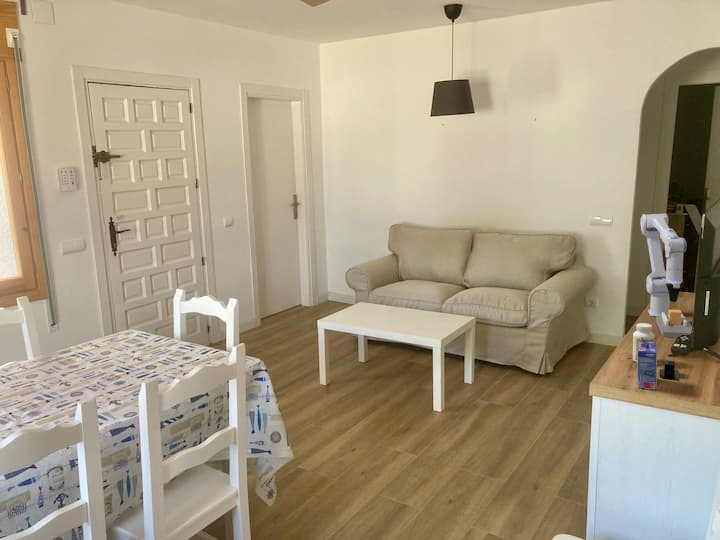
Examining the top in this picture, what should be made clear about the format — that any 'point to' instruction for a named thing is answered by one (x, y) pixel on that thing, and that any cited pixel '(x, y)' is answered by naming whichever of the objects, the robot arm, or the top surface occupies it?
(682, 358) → the top surface
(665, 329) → the channel deck
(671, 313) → the orange block
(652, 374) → the ink cartridge box
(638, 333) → the supplement bottle
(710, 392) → the top surface
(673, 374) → the black block
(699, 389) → the top surface
